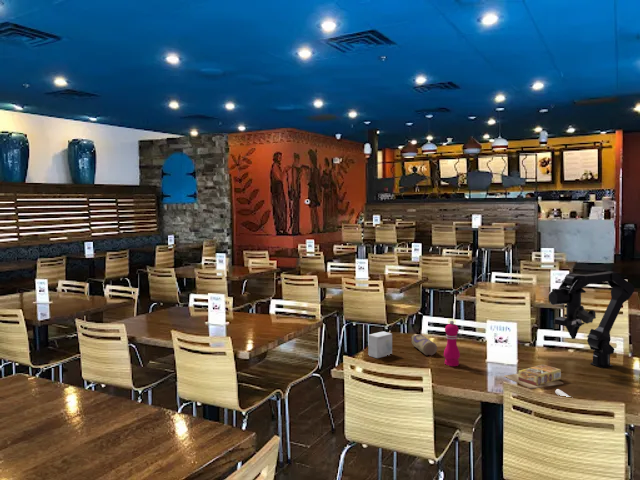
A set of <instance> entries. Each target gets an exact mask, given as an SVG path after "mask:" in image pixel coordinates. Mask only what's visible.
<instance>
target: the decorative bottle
mask: <svg viewBox="0 0 640 480" xmlns="http://www.w3.org/2000/svg"><path fill="white" fill-rule="evenodd" d="M411 344H412V346H414V347H415V348H416V349H418V351H420V352H421V353H422V354H424V355H425V356H427V355H431V356H433V355H434V354H436V353H437V349H438V347H437V344H436V343H435V342H433V341H432V340H431V339H428V338H427V336H424V335H423V334H413V335H412V336H411Z"/></svg>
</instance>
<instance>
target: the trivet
mask: <svg viewBox="0 0 640 480" xmlns="http://www.w3.org/2000/svg"><path fill="white" fill-rule="evenodd" d="M503 376H504V378H506V379H509V380H511V381H513V382H515V383H517V384H520V385H521V386H523V387H525V388H528V389H530V390H531V389H538V388H544V387H545V388H546V387H553V386H559V385H564V382H562V381H560V380H559V379H558V380H555V381H552V382H548V383H545V384H541V385H538V386H536V385H533V384H530V383H527V382H523V381H520V380H518V373H513V374H507V375H503Z"/></svg>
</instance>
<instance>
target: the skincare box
mask: <svg viewBox="0 0 640 480" xmlns="http://www.w3.org/2000/svg"><path fill="white" fill-rule="evenodd" d="M367 345H368V350H367V352H368V354H367V355H369V357H372V358H375V359H380V358H384V357H388V356H391V355H390V354H392V355H393V333H391V332H388V331H387V332H386V331H384V330H383V331H379V332H374V333H370V334H368V344H367ZM387 355H388V356H387Z"/></svg>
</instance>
